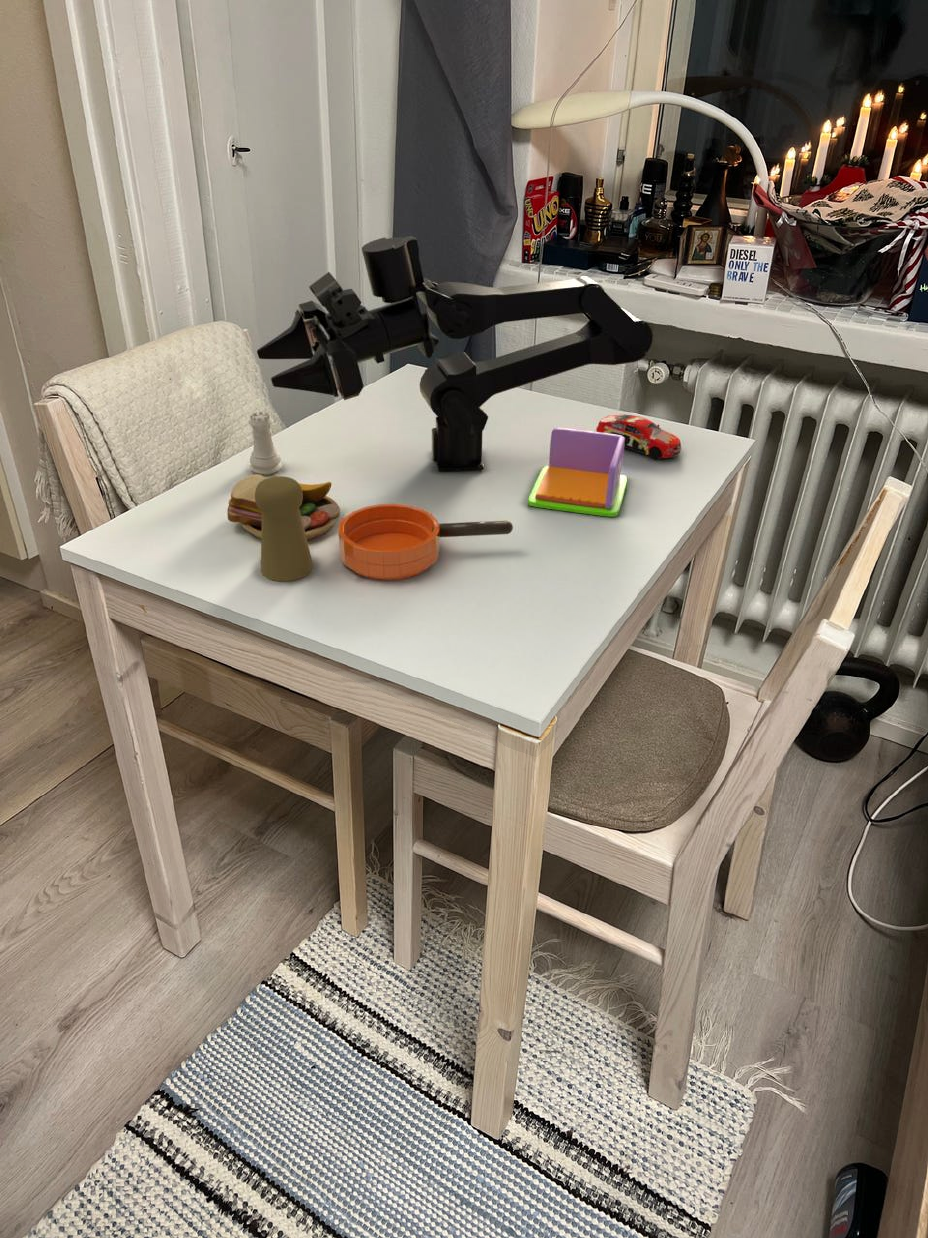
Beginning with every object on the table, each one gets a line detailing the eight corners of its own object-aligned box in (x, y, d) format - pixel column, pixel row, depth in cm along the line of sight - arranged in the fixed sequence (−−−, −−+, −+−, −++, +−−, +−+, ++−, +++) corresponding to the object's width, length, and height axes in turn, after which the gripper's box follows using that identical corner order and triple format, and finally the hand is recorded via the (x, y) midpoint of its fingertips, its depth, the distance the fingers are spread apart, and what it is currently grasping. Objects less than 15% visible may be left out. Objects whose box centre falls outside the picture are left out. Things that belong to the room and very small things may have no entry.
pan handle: (511, 529, 109) (512, 517, 109) (513, 536, 108) (514, 524, 107) (431, 533, 109) (431, 521, 108) (432, 540, 107) (432, 527, 106)
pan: (434, 530, 114) (434, 501, 112) (443, 579, 105) (443, 549, 102) (340, 534, 113) (338, 505, 111) (341, 584, 103) (338, 554, 101)
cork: (322, 559, 108) (314, 474, 102) (298, 585, 103) (288, 497, 97) (276, 550, 109) (266, 466, 103) (250, 575, 105) (238, 488, 98)
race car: (686, 453, 134) (691, 427, 132) (667, 465, 131) (672, 439, 128) (610, 429, 141) (613, 404, 139) (590, 439, 138) (593, 414, 135)
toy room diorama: (628, 479, 127) (634, 432, 123) (617, 518, 117) (623, 469, 113) (543, 468, 129) (546, 422, 125) (525, 506, 120) (528, 457, 116)
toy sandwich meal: (312, 553, 109) (308, 518, 106) (213, 534, 113) (208, 499, 110) (357, 508, 119) (355, 474, 116) (265, 491, 122) (261, 458, 120)
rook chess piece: (286, 463, 130) (280, 409, 125) (277, 477, 126) (271, 421, 121) (255, 461, 130) (248, 407, 125) (246, 475, 126) (238, 420, 122)
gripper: (347, 247, 119) (231, 281, 116) (389, 292, 105) (258, 333, 102) (367, 328, 126) (258, 363, 123) (409, 381, 112) (287, 421, 110)
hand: (264, 368), depth 114 cm, fingers open, 9 cm apart
